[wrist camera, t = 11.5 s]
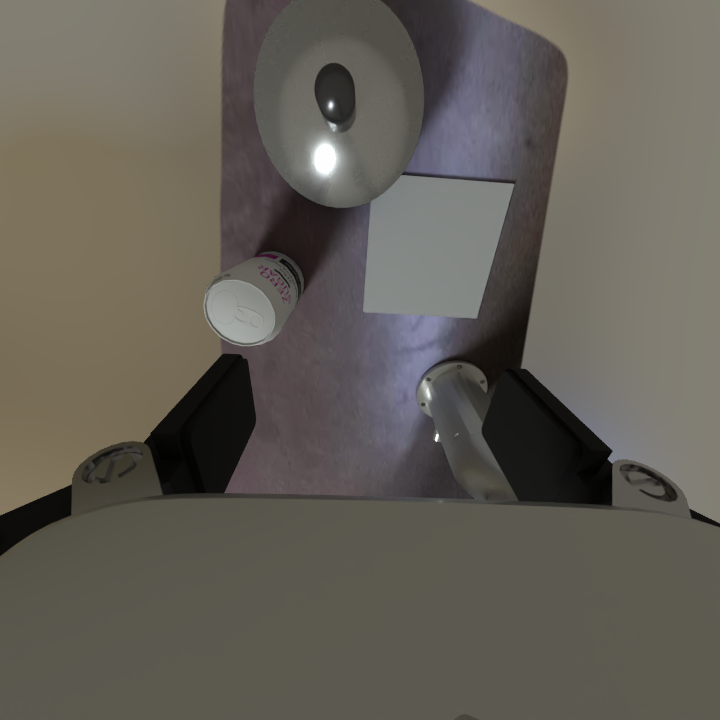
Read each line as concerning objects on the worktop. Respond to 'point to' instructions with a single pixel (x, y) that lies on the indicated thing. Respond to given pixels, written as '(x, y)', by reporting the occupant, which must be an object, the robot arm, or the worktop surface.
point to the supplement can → (253, 298)
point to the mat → (433, 245)
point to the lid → (339, 99)
